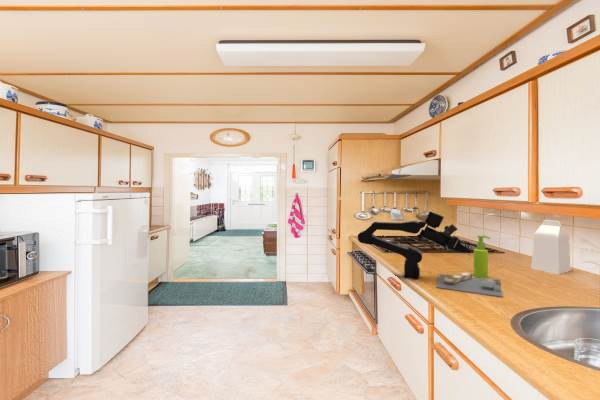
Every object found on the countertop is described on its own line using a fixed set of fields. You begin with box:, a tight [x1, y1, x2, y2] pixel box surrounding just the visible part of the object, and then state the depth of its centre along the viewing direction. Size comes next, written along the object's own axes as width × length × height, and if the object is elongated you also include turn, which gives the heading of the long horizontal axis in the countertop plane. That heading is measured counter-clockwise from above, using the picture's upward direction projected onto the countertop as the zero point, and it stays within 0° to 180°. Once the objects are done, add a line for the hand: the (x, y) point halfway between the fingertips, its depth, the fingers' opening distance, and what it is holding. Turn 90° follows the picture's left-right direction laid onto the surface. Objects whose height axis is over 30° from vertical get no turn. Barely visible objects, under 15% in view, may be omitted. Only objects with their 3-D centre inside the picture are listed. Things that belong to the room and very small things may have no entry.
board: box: [435, 273, 504, 298], centre depth 130 cm, size 24×22×1 cm
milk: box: [530, 219, 571, 275], centre depth 151 cm, size 12×12×26 cm
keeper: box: [480, 277, 502, 292], centre depth 123 cm, size 7×5×4 cm
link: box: [445, 271, 473, 284], centre depth 134 cm, size 17×4×3 cm, turn 120°
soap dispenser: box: [473, 235, 491, 279], centre depth 141 cm, size 6×7×20 cm
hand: (468, 251), depth 132 cm, fingers open, 9 cm apart
